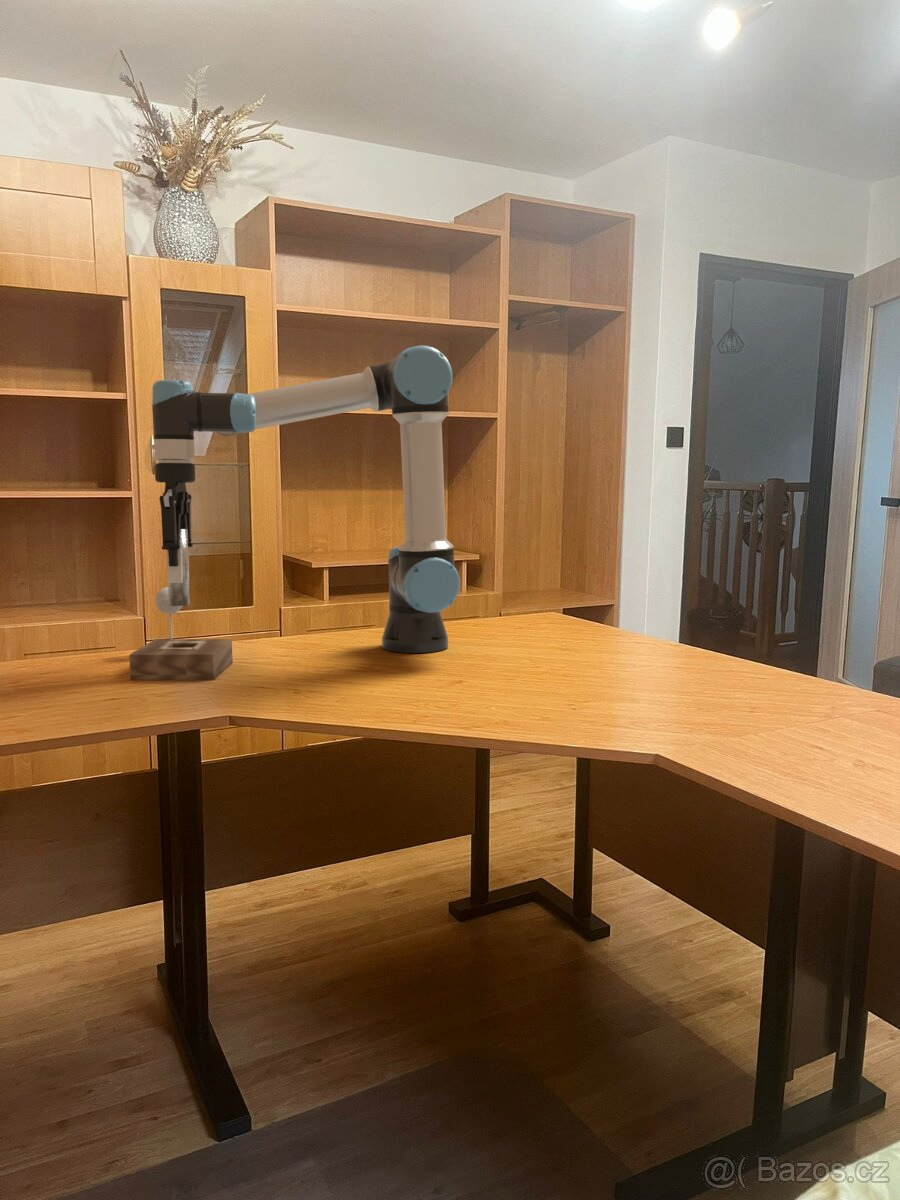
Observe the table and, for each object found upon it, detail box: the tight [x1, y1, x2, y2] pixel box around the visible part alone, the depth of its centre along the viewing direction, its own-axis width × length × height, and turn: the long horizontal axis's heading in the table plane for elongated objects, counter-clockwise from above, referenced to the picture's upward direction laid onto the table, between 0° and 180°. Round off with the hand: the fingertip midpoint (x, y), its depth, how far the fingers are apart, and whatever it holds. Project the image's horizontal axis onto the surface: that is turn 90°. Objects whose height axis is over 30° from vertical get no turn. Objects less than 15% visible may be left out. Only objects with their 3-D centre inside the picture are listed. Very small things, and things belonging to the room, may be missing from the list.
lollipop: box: [154, 586, 183, 639], centre depth 196 cm, size 6×6×15 cm
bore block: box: [128, 638, 234, 681], centre depth 181 cm, size 16×16×5 cm
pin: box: [167, 529, 191, 607], centre depth 178 cm, size 4×4×15 cm
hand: (178, 581), depth 179 cm, fingers closed on pin, 4 cm apart
